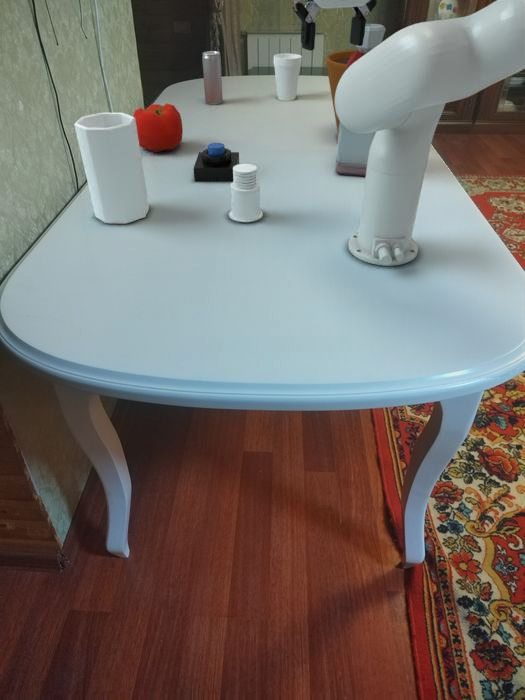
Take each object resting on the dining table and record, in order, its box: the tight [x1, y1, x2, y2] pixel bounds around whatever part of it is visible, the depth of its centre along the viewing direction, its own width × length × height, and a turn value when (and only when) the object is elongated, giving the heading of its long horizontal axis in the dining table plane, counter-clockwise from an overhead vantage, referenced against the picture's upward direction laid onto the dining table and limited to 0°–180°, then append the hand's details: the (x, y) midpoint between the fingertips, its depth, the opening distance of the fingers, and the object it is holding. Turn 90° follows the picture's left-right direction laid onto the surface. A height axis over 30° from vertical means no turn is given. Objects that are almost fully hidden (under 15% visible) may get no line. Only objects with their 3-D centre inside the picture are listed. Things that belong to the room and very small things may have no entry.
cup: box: [74, 112, 150, 225], centre depth 100 cm, size 11×11×18 cm
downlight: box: [228, 163, 264, 223], centre depth 102 cm, size 8×7×10 cm
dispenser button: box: [207, 142, 226, 156], centre depth 120 cm, size 4×4×2 cm
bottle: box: [335, 23, 387, 177], centre depth 117 cm, size 14×10×30 cm
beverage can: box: [201, 50, 224, 106], centre depth 169 cm, size 6×6×15 cm
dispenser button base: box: [193, 147, 240, 183], centre depth 122 cm, size 11×10×5 cm
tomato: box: [132, 102, 184, 153], centre depth 134 cm, size 14×13×10 cm
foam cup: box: [273, 53, 303, 102], centre depth 174 cm, size 10×9×13 cm
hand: (332, 46), depth 88 cm, fingers open, 9 cm apart
